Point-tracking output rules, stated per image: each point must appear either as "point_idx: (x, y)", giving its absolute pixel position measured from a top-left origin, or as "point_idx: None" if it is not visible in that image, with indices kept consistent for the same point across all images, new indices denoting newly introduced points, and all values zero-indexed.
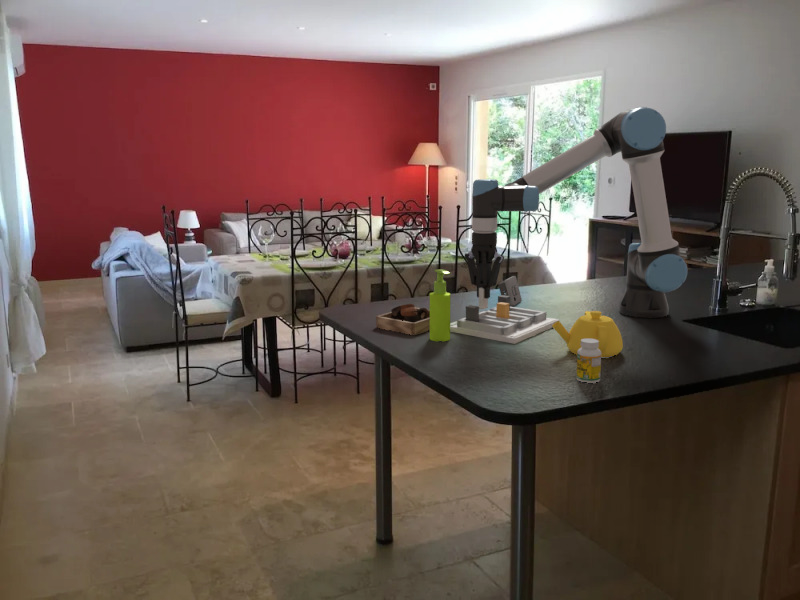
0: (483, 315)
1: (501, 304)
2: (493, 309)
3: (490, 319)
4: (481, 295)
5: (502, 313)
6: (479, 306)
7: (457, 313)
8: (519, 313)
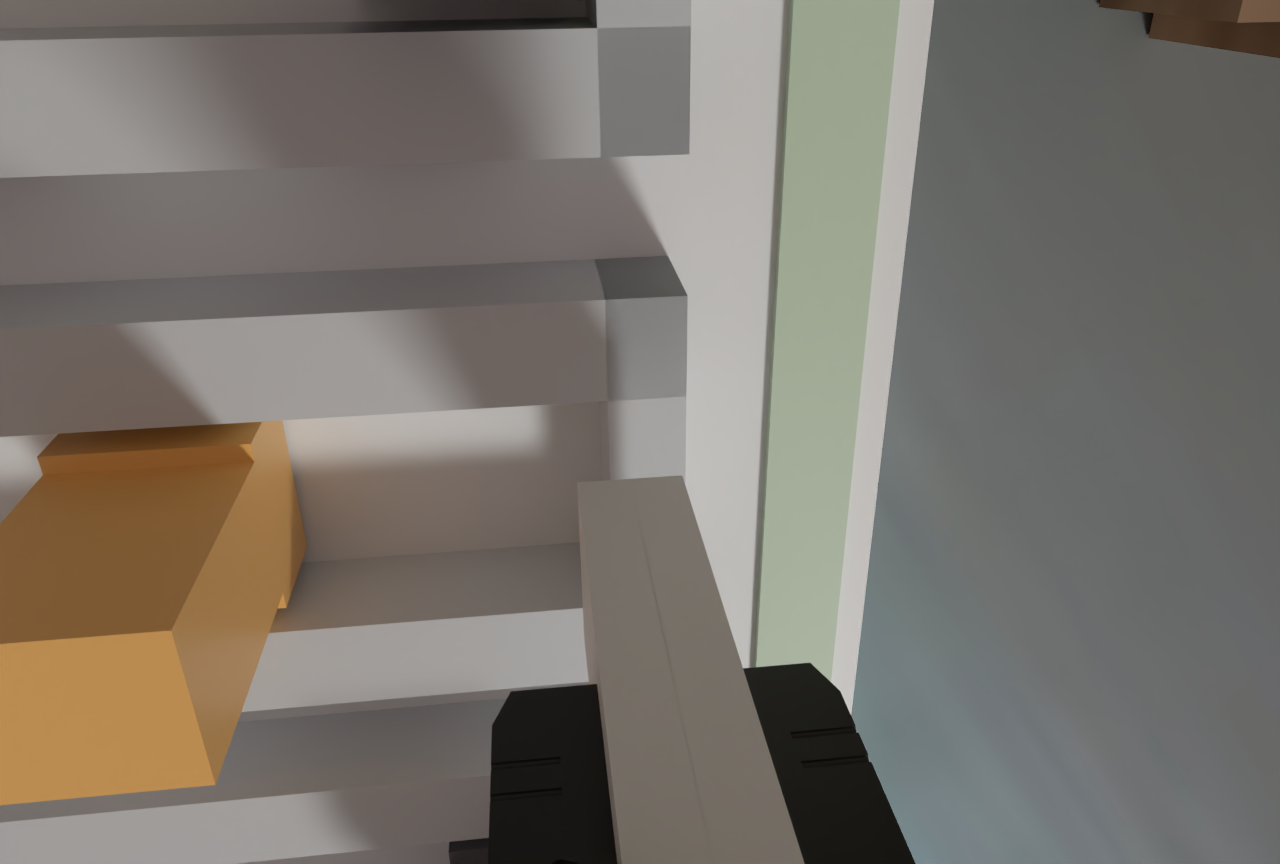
0: (483, 349)
1: (18, 638)
2: None
3: (112, 144)
4: (657, 688)
5: (74, 513)
6: (669, 501)
7: (1204, 632)
8: (104, 828)
